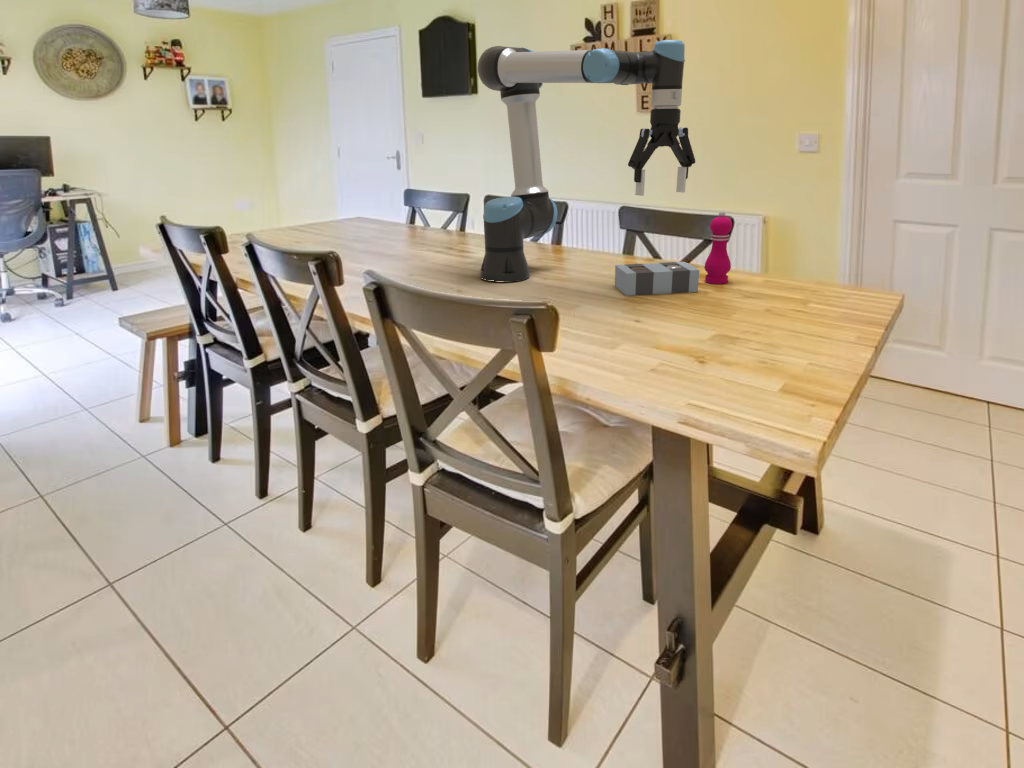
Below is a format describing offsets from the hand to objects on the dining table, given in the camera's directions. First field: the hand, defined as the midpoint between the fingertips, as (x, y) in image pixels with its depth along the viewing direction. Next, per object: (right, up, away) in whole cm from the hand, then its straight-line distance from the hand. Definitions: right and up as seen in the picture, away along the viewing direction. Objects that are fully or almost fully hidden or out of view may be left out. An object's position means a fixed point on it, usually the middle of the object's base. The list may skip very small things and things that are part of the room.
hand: (660, 193), depth 180 cm
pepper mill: (+19, -22, +14) cm, 32 cm away
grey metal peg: (+5, -24, +8) cm, 26 cm away
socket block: (0, -24, +8) cm, 25 cm away
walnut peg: (-5, -25, +7) cm, 26 cm away
